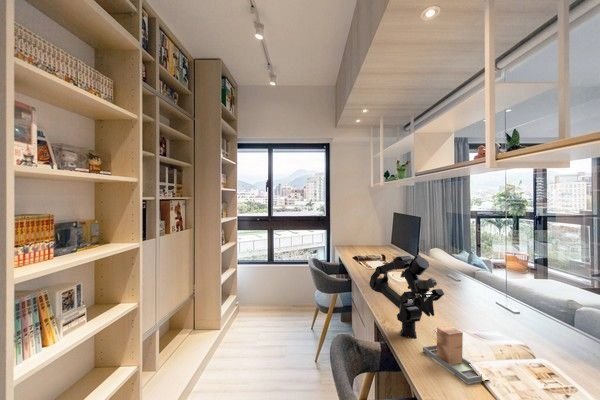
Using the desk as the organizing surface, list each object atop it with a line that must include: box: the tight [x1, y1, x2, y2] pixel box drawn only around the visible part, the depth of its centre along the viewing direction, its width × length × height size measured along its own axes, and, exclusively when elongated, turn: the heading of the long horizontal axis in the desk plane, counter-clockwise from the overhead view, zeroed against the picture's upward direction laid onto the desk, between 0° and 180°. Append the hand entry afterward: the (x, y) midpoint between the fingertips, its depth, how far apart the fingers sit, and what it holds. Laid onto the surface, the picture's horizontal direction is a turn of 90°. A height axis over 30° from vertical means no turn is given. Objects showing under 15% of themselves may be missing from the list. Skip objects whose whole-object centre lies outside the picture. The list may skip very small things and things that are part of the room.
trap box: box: [422, 344, 483, 386], centre depth 110 cm, size 22×9×2 cm, turn 17°
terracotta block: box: [436, 325, 463, 365], centre depth 112 cm, size 6×6×11 cm
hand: (431, 315), depth 121 cm, fingers closed
